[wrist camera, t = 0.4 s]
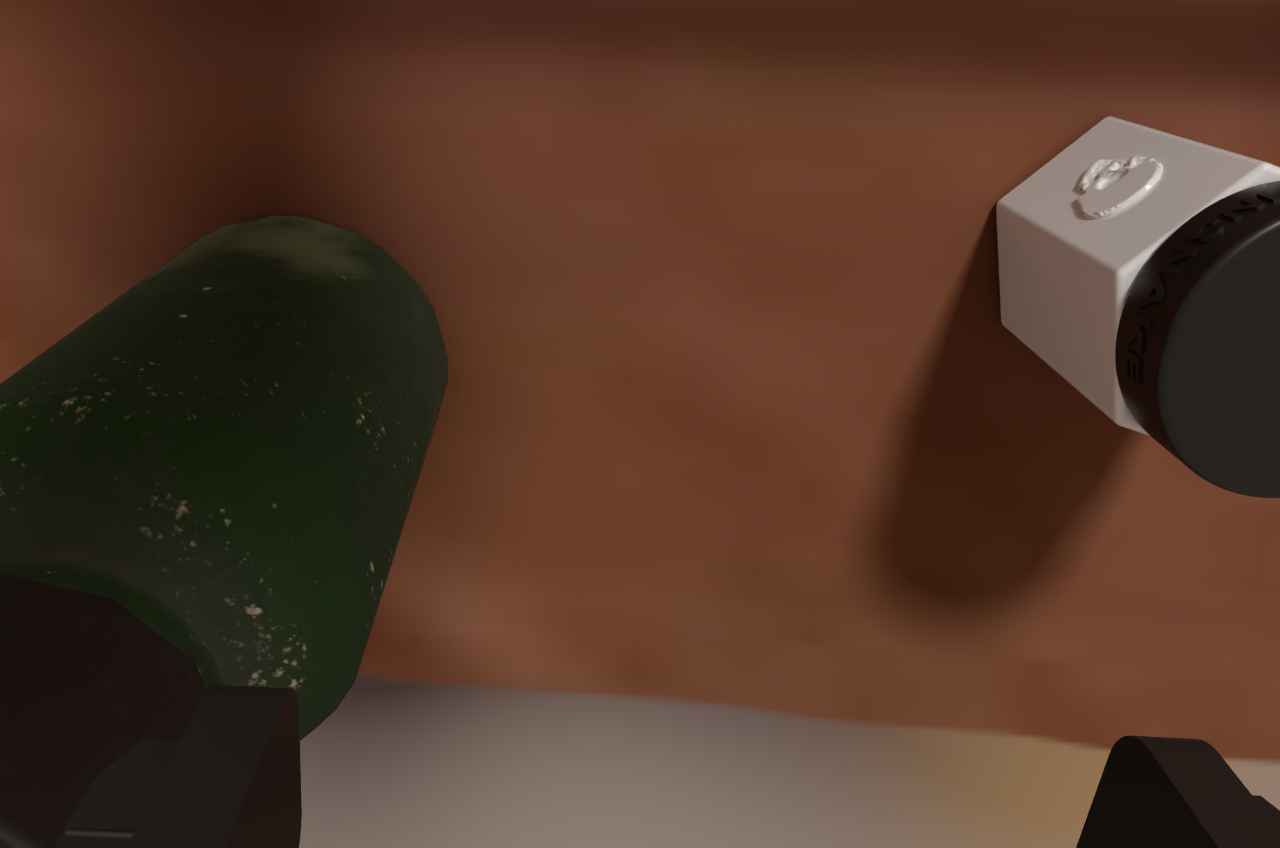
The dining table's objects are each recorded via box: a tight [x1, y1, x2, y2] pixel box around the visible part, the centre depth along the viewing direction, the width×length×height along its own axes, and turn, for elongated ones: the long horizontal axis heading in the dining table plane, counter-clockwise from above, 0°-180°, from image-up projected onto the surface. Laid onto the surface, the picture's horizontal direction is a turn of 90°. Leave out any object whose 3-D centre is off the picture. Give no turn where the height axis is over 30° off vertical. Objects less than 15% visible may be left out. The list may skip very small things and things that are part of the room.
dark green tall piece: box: [0, 215, 448, 848], centre depth 27 cm, size 10×10×25 cm
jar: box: [996, 117, 1280, 498], centre depth 33 cm, size 9×8×12 cm
